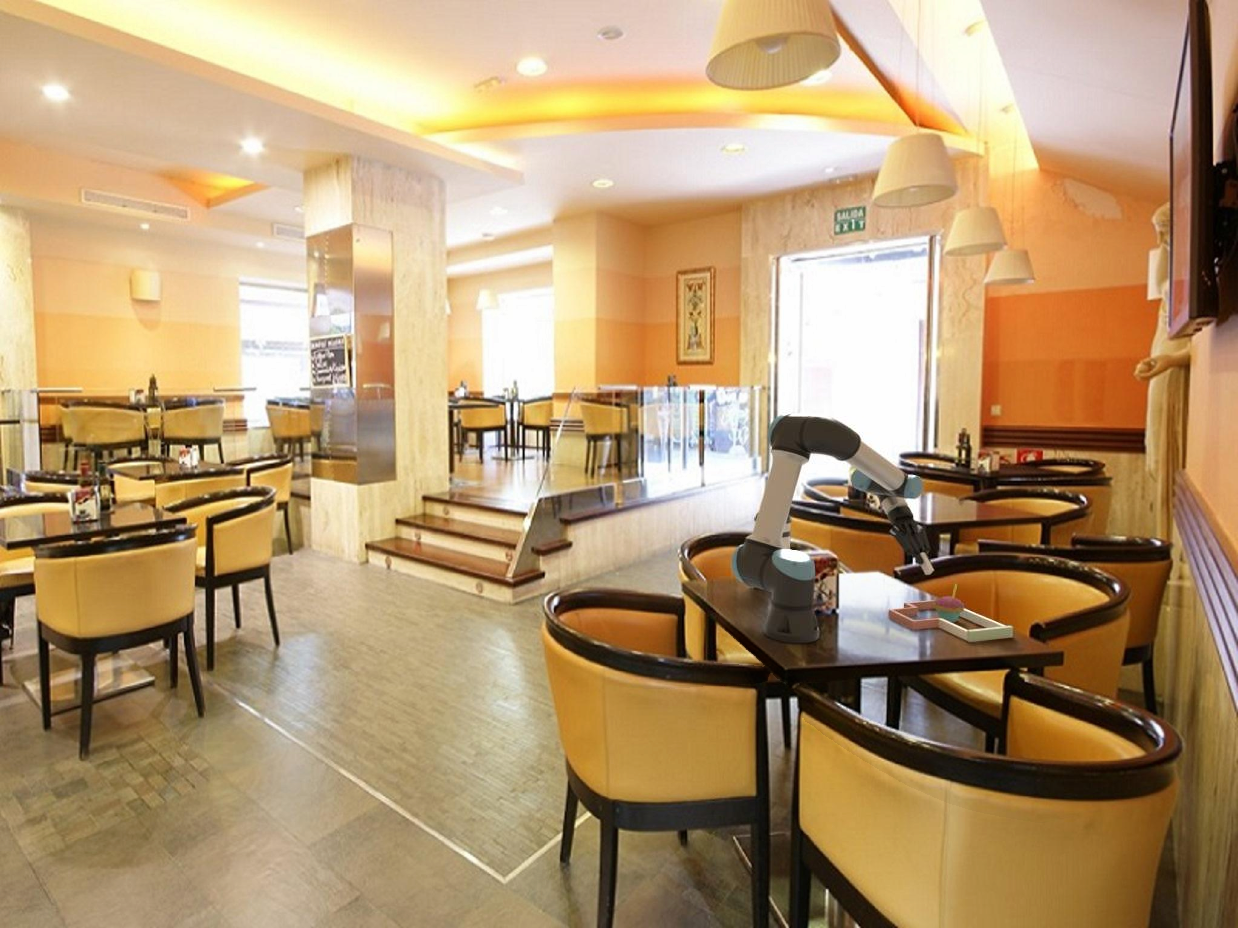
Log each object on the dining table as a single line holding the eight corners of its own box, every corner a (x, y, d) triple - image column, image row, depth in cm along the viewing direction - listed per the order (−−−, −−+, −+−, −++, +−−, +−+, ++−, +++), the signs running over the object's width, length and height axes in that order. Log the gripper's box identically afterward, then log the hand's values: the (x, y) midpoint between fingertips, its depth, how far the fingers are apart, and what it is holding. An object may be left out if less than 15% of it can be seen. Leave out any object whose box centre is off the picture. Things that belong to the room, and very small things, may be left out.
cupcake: (957, 615, 213) (959, 577, 212) (968, 625, 205) (970, 585, 203) (928, 614, 214) (930, 577, 213) (938, 624, 205) (940, 584, 204)
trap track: (942, 644, 189) (943, 634, 188) (879, 612, 216) (879, 603, 215) (1012, 637, 195) (1013, 626, 194) (942, 606, 222) (942, 597, 221)
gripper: (908, 516, 235) (941, 576, 221) (875, 518, 232) (906, 580, 218) (920, 503, 230) (953, 564, 216) (886, 505, 226) (918, 568, 212)
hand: (929, 572), depth 217 cm, fingers closed
